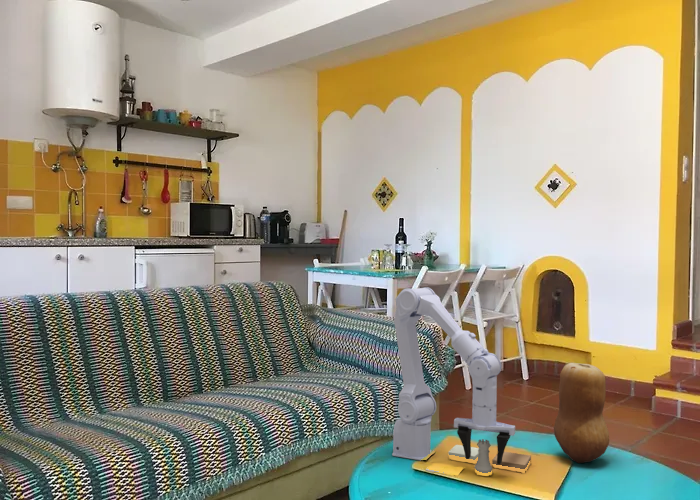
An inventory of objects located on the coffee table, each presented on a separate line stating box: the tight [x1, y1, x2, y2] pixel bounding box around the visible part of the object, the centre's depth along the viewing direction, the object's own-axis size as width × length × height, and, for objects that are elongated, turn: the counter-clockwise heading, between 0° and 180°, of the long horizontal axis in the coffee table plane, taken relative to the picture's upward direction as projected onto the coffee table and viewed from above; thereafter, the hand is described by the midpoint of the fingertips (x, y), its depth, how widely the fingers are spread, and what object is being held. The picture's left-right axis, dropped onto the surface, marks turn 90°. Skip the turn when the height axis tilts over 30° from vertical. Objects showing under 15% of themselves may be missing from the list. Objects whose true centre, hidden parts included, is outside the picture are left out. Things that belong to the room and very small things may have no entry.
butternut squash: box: [553, 362, 610, 464], centre depth 160 cm, size 14×13×25 cm
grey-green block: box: [447, 444, 479, 460], centre depth 160 cm, size 7×7×2 cm
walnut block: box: [491, 451, 532, 469], centre depth 155 cm, size 8×8×2 cm
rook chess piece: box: [474, 438, 494, 473], centre depth 149 cm, size 4×4×8 cm
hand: (483, 460), depth 149 cm, fingers open, 7 cm apart
